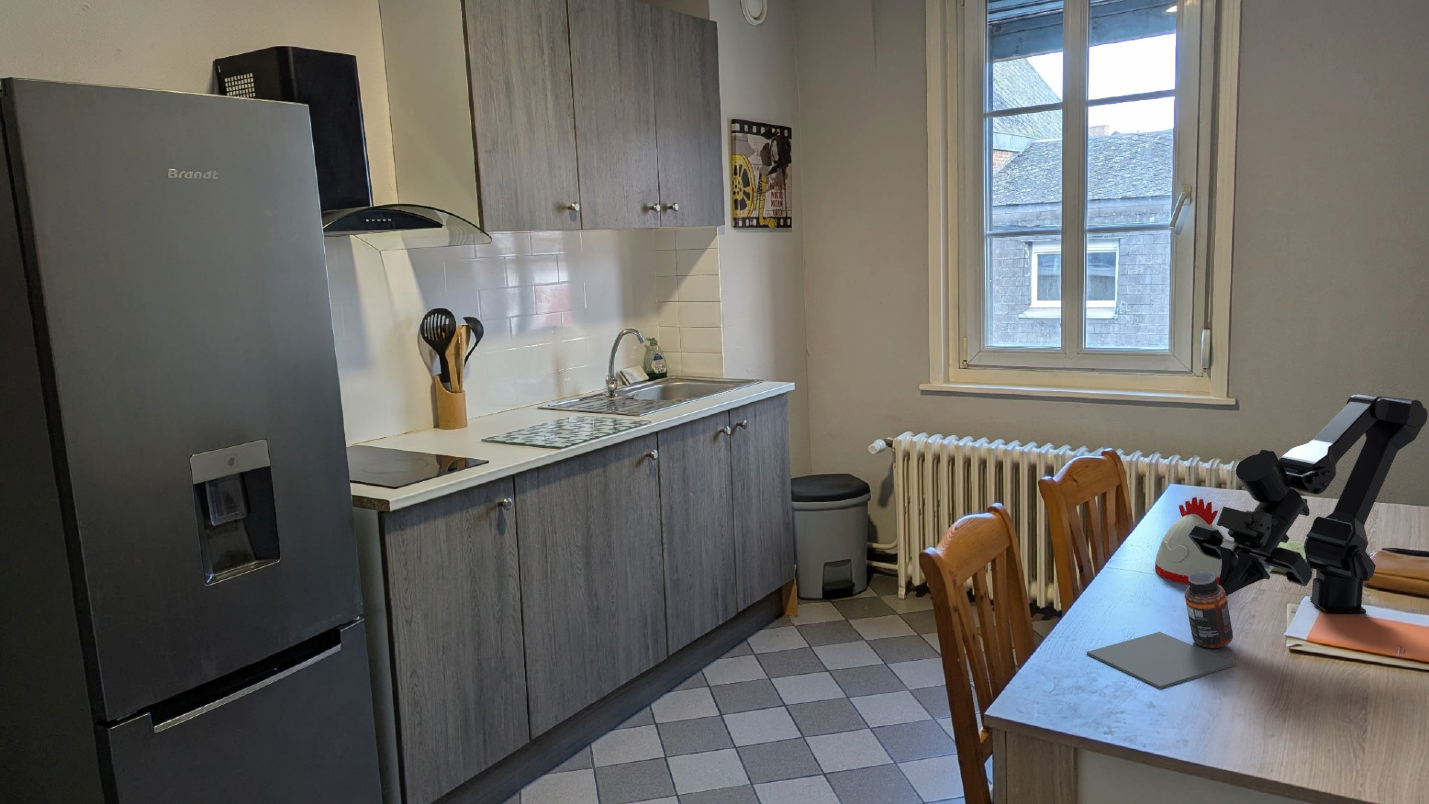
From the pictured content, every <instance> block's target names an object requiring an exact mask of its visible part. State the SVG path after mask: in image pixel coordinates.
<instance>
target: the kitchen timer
mask: <svg viewBox="0 0 1429 804" xmlns="http://www.w3.org/2000/svg"><path fill="white" fill-rule="evenodd" d="M1184 504H1185V506H1184ZM1184 504H1179V505H1178V508H1179V513H1180V516H1181V517H1180V518H1179V519H1177V520H1175V522H1174V523H1173V524H1172V525H1171V526H1170V527H1169V528H1168V530H1167V531H1166V533H1165V534H1164V536H1163V538H1162V539H1161V542H1160V545H1159V548H1158V550H1157V553H1156V556H1155V561H1154V571H1155V573H1156V574H1157V575H1158V574H1159V576H1160V577H1161V578H1163V577H1164V579H1166V580H1167V581H1171V580H1172V582H1175V583H1179V584H1183V585H1184V584H1185V585H1188V586H1189V581H1188V578H1189V576H1190V575H1192V574H1194V573H1196V572H1210V573H1212V574H1214V575H1215V576H1216V580H1217V584H1218V583H1219V578H1220V573H1221V566H1222V559H1220V560H1218V559H1215V558H1212V557H1208V556H1205V555H1204V554H1202V553H1201V552H1200V550H1199V549H1198V548H1197V546H1196V545H1195V544H1194V543H1193V541H1192V540H1191V539H1190V537H1189V536H1188V535H1189V533H1190V532H1191V530H1192V529H1193V528H1194V527H1195V526H1197V525H1203V526H1207V527H1210V528H1214V529H1217V530H1218V531H1219V532H1220V533H1221V535H1222V536H1223V537H1224V538H1226V539H1229V540H1231V539H1230V537H1228V536H1227V535H1226V534H1225V532H1224V531H1223V529H1221V526H1218V525H1217V522H1215V519H1216V517H1217V516H1218V512H1219V510H1218V509H1217V510H1214V511H1213V509H1212V508H1213V507H1212V506H1213V502H1212V501H1210V502H1209V501H1208V502H1207V503H1206V505H1205V502H1204V498H1200V499H1198V498H1197V496H1193V497H1192V498H1191V502H1190V500H1186V501H1184Z"/></svg>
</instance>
